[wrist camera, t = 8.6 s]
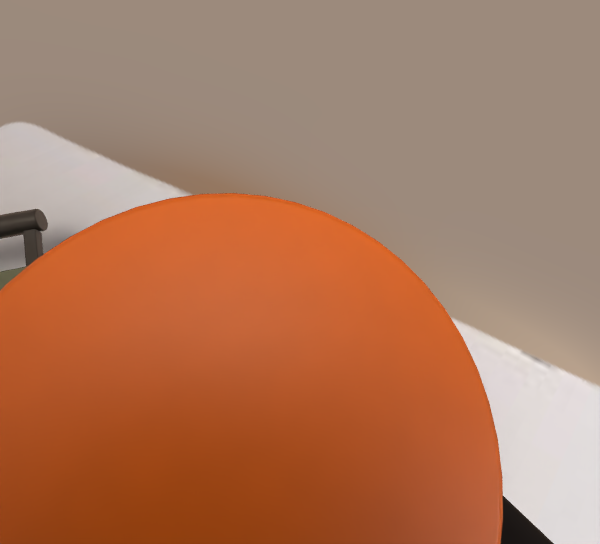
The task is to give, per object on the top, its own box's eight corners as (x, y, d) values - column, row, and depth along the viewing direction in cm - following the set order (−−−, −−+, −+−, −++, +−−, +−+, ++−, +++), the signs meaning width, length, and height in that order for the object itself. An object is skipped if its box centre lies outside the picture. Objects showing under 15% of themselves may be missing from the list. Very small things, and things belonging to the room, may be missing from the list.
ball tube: (330, 392, 13) (611, 487, 3) (237, 477, 12) (123, 1204, 2) (260, 304, 14) (277, 110, 3) (165, 376, 13) (-263, 423, 2)
